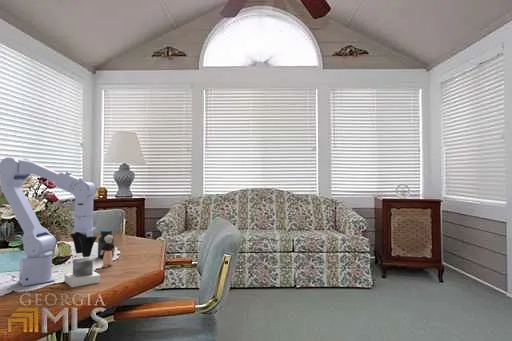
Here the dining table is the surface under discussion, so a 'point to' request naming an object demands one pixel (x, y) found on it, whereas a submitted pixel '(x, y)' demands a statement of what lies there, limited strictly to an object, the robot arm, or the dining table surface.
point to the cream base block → (81, 279)
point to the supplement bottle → (104, 242)
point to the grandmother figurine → (107, 251)
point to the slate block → (82, 267)
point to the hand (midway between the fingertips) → (82, 254)
